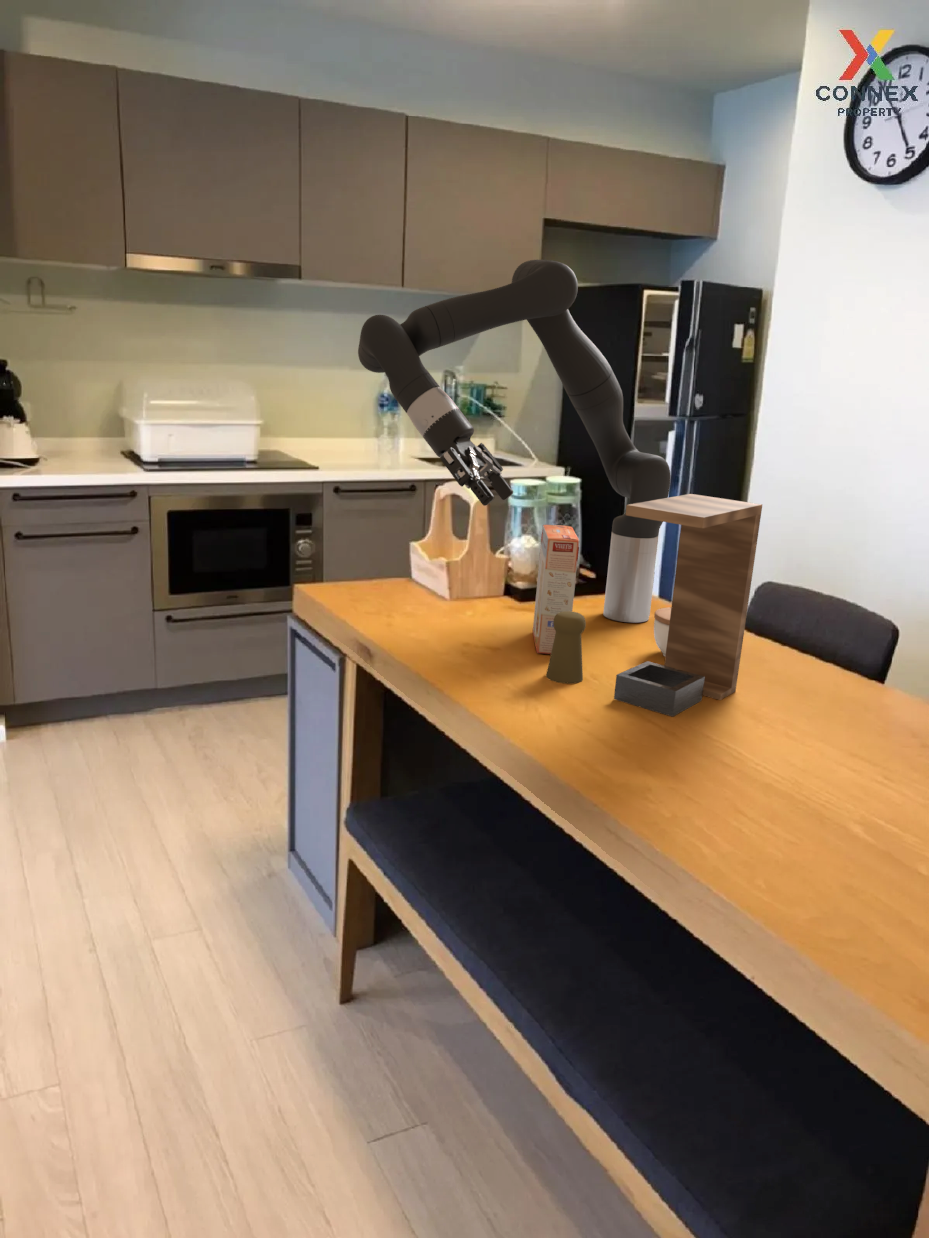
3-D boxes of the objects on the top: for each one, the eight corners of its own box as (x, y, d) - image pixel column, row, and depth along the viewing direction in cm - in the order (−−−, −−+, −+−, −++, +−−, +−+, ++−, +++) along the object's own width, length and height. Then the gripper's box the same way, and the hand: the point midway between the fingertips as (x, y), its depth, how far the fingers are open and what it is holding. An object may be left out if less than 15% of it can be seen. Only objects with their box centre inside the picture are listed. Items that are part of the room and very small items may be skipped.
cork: (581, 685, 156) (587, 619, 153) (543, 680, 157) (549, 615, 154) (584, 674, 161) (590, 610, 158) (548, 669, 162) (553, 606, 160)
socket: (644, 684, 158) (647, 661, 157) (701, 700, 152) (704, 676, 151) (613, 699, 150) (616, 674, 149) (672, 716, 144) (675, 691, 143)
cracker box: (570, 656, 170) (581, 539, 164) (535, 654, 170) (545, 537, 164) (563, 634, 184) (573, 525, 178) (531, 632, 184) (541, 522, 178)
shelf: (668, 673, 164) (690, 493, 156) (735, 691, 158) (762, 504, 149) (605, 703, 148) (626, 504, 140) (677, 724, 141) (703, 517, 133)
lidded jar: (645, 660, 171) (651, 608, 168) (654, 644, 181) (660, 595, 178) (707, 669, 168) (714, 617, 165) (713, 653, 178) (720, 603, 175)
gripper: (437, 408, 152) (500, 489, 151) (472, 405, 164) (530, 481, 163) (405, 439, 155) (466, 519, 154) (442, 434, 168) (499, 508, 167)
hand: (499, 499), depth 159 cm, fingers open, 8 cm apart
